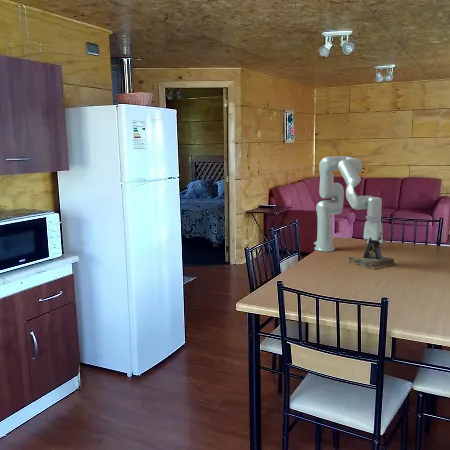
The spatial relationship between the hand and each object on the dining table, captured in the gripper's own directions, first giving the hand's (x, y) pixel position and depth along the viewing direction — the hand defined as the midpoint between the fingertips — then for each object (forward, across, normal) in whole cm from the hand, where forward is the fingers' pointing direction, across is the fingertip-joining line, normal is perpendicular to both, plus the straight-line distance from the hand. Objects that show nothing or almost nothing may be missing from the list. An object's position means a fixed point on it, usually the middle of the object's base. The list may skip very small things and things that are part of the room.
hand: (372, 251), depth 265 cm
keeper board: (+7, 0, 0) cm, 7 cm away
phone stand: (+4, 0, 0) cm, 4 cm away
